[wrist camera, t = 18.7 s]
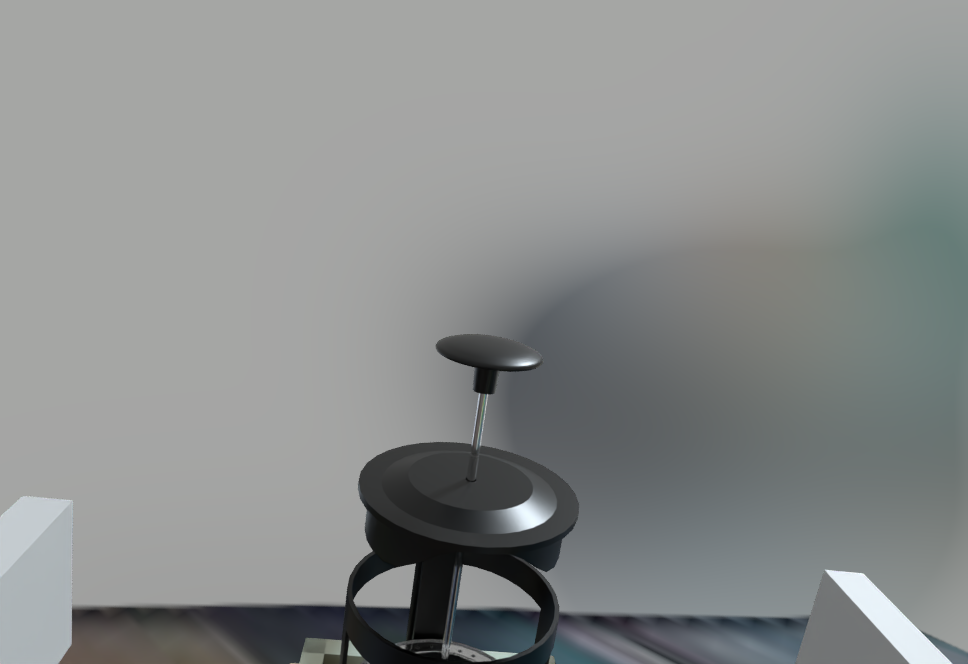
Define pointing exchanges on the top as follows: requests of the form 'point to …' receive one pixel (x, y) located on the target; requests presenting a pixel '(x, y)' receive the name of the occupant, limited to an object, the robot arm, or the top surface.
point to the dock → (352, 653)
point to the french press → (460, 525)
